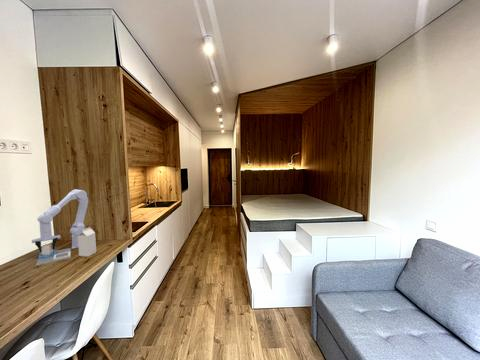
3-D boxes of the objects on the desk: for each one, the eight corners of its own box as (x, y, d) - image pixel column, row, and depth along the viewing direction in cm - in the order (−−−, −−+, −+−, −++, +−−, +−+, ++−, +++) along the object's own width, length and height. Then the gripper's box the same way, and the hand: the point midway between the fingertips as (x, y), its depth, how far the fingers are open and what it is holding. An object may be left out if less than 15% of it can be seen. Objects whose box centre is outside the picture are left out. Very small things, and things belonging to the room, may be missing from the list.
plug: (53, 252, 148) (52, 243, 148) (48, 254, 144) (47, 246, 143) (46, 252, 148) (46, 244, 147) (41, 255, 143) (40, 246, 143)
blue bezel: (56, 250, 153) (56, 249, 153) (55, 255, 144) (55, 254, 144) (40, 254, 147) (40, 252, 147) (38, 259, 139) (38, 257, 139)
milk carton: (96, 252, 151) (94, 227, 149) (88, 257, 144) (86, 230, 142) (87, 252, 152) (85, 226, 150) (79, 256, 145) (77, 230, 143)
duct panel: (71, 248, 158) (70, 246, 158) (70, 258, 142) (70, 256, 141) (40, 254, 147) (39, 252, 147) (35, 266, 131) (35, 263, 131)
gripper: (60, 227, 152) (61, 246, 153) (32, 232, 143) (33, 251, 144) (59, 230, 146) (60, 249, 148) (30, 235, 137) (32, 254, 139)
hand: (47, 250), depth 146 cm, fingers closed on plug, 6 cm apart
